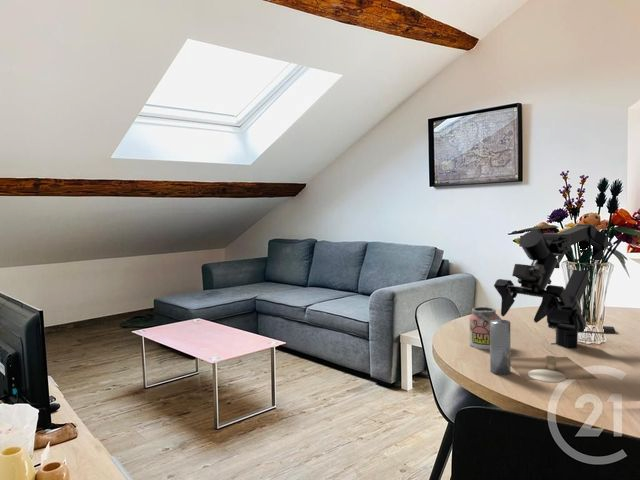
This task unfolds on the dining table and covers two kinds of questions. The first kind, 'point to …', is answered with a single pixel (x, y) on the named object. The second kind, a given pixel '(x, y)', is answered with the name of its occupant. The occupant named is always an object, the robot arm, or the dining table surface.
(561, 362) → the plate
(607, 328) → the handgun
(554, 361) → the dowel
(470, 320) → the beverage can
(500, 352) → the cylinder
